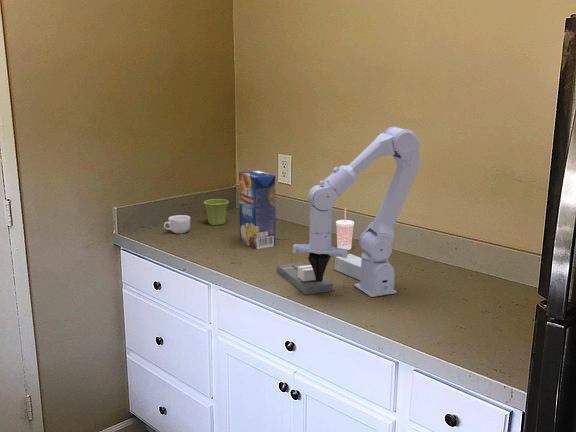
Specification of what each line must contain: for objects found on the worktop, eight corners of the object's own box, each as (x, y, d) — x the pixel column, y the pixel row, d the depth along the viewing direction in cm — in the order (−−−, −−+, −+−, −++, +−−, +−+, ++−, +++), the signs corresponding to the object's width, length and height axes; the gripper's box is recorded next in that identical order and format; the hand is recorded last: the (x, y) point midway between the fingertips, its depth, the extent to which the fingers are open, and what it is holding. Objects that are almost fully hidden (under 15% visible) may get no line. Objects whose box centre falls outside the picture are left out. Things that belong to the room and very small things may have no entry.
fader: (323, 278, 167) (323, 267, 166) (303, 281, 165) (303, 270, 164) (317, 274, 171) (317, 263, 170) (297, 276, 168) (297, 266, 168)
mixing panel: (332, 290, 165) (332, 283, 164) (305, 294, 162) (305, 287, 161) (301, 268, 183) (301, 261, 182) (277, 271, 180) (277, 265, 179)
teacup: (184, 228, 227) (184, 214, 226) (194, 232, 221) (194, 218, 220) (159, 232, 221) (159, 217, 220) (169, 237, 215) (168, 222, 214)
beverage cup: (348, 244, 208) (350, 204, 204) (356, 249, 202) (357, 208, 199) (332, 246, 206) (333, 205, 202) (339, 251, 200) (340, 209, 197)
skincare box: (334, 270, 182) (361, 283, 172) (334, 255, 180) (361, 268, 171) (350, 266, 185) (377, 278, 175) (351, 252, 184) (378, 264, 174)
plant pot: (201, 226, 230) (200, 203, 228) (208, 220, 239) (207, 198, 237) (225, 227, 229) (224, 204, 227) (231, 221, 238) (231, 199, 236)
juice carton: (275, 246, 205) (275, 175, 199) (255, 249, 202) (255, 177, 196) (258, 237, 215) (258, 170, 209) (239, 240, 212) (238, 172, 206)
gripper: (350, 230, 161) (349, 278, 164) (298, 225, 165) (297, 272, 169) (344, 236, 154) (343, 287, 158) (290, 231, 159) (289, 281, 162)
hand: (319, 280), depth 163 cm, fingers closed
